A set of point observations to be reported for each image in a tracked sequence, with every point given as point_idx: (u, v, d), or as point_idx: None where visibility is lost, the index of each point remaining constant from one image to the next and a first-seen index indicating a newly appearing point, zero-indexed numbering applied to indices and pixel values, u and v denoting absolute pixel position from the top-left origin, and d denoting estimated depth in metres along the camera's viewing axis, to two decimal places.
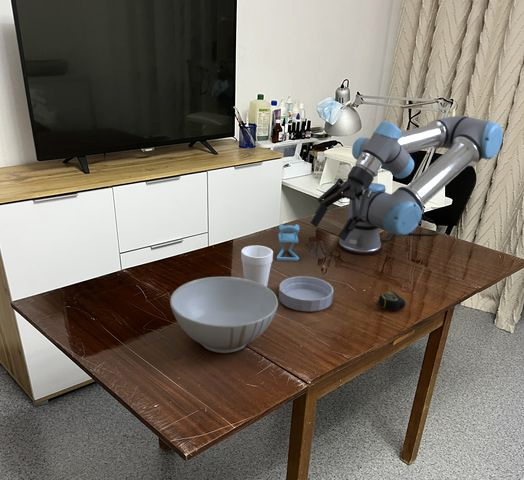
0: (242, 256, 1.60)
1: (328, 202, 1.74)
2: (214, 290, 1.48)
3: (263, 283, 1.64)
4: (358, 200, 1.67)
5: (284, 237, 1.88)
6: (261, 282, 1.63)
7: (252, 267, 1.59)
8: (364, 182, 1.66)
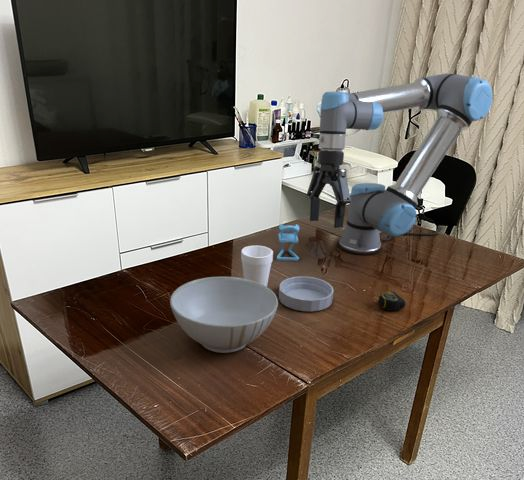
0: (242, 256, 1.60)
1: (316, 193, 1.69)
2: (214, 290, 1.48)
3: (263, 283, 1.64)
4: (337, 182, 1.60)
5: (284, 237, 1.88)
6: (261, 282, 1.63)
7: (252, 267, 1.59)
8: (334, 163, 1.58)
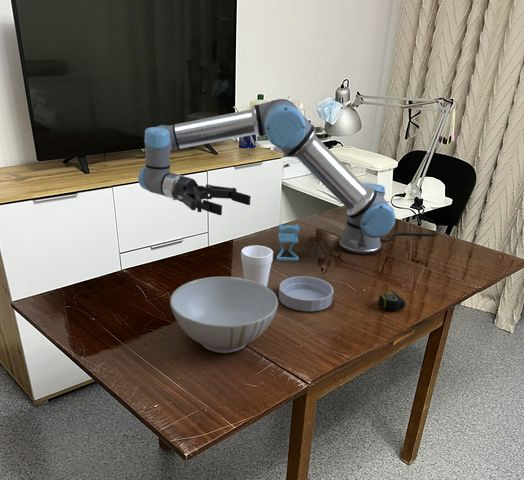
0: (242, 256, 1.60)
1: (226, 195, 1.68)
2: (214, 290, 1.48)
3: (263, 283, 1.64)
4: (194, 195, 1.62)
5: (284, 237, 1.88)
6: (261, 282, 1.63)
7: (252, 267, 1.59)
8: None
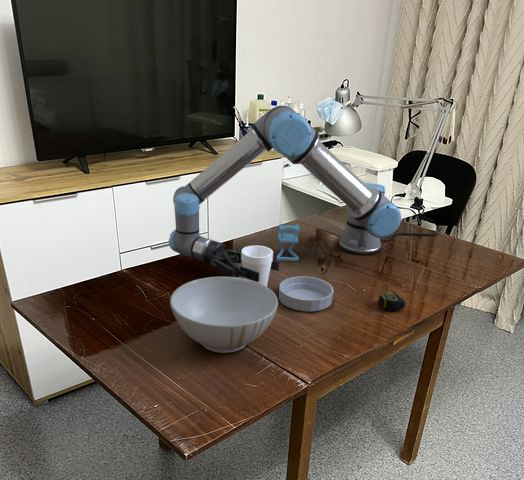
0: (242, 256, 1.60)
1: None
2: (214, 290, 1.48)
3: (263, 283, 1.64)
4: (226, 261, 1.66)
5: (284, 237, 1.88)
6: (261, 282, 1.63)
7: (252, 267, 1.59)
8: None
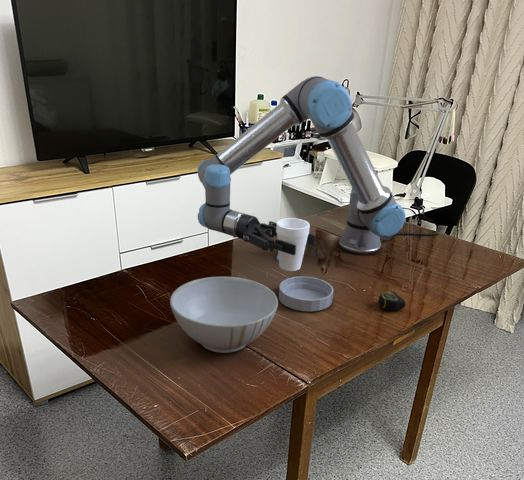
0: (277, 228, 1.53)
1: None
2: (214, 290, 1.48)
3: (299, 257, 1.56)
4: (260, 234, 1.58)
5: None
6: (297, 256, 1.55)
7: (288, 240, 1.52)
8: (243, 235, 1.62)
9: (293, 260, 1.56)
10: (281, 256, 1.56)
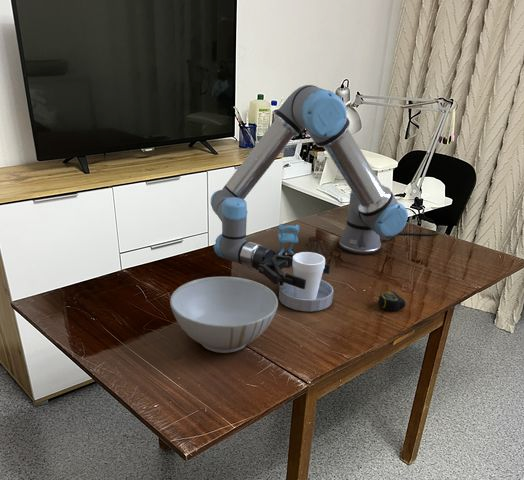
0: (294, 263, 1.57)
1: None
2: (214, 290, 1.48)
3: (314, 290, 1.60)
4: (274, 267, 1.62)
5: (284, 237, 1.88)
6: (312, 289, 1.59)
7: (304, 274, 1.56)
8: None
9: (309, 293, 1.60)
10: (297, 289, 1.60)
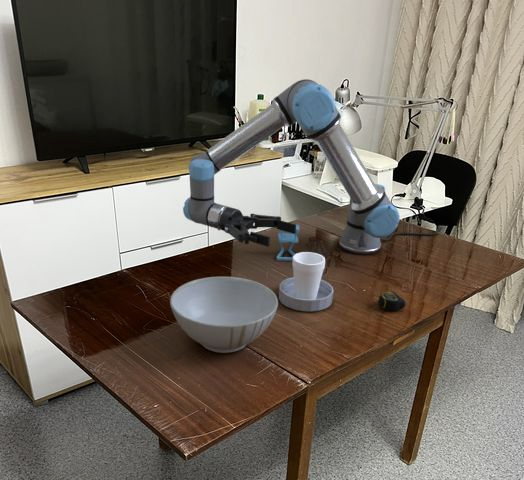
0: (294, 263, 1.57)
1: (271, 224, 1.68)
2: (214, 290, 1.48)
3: (314, 290, 1.60)
4: (240, 227, 1.63)
5: (284, 237, 1.88)
6: (312, 289, 1.59)
7: (304, 274, 1.56)
8: None
9: (309, 293, 1.60)
10: (297, 289, 1.60)
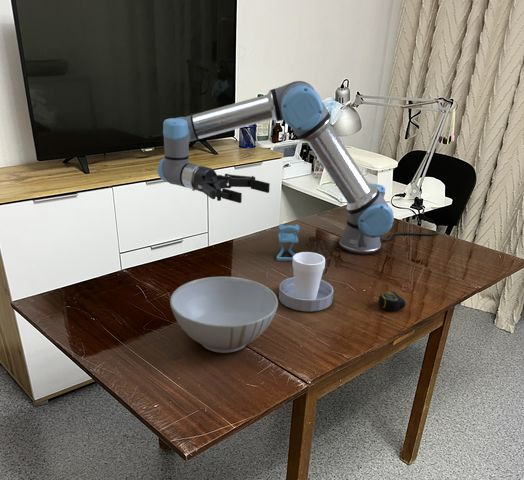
0: (294, 263, 1.57)
1: (245, 184, 1.68)
2: (214, 290, 1.48)
3: (314, 290, 1.60)
4: (213, 185, 1.62)
5: (284, 237, 1.88)
6: (312, 289, 1.59)
7: (304, 274, 1.56)
8: None
9: (309, 293, 1.60)
10: (297, 289, 1.60)
